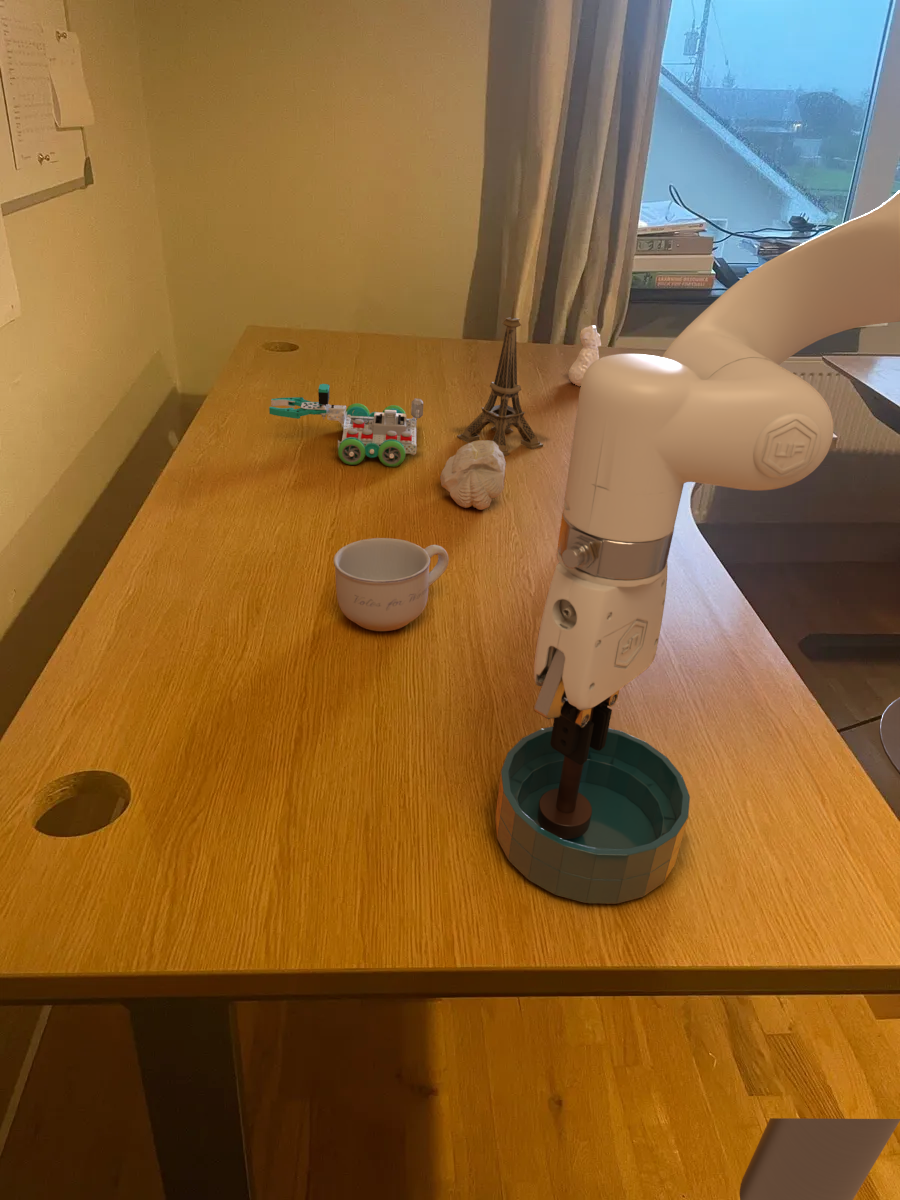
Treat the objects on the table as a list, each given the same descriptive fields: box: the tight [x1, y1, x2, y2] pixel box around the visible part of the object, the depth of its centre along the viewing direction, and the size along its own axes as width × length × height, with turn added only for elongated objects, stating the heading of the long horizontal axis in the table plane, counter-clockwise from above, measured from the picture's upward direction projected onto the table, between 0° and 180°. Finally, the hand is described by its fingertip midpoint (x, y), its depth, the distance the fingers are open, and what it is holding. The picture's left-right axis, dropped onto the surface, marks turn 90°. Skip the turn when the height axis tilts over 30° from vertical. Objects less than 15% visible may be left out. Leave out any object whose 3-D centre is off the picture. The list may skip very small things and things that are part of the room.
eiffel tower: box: [456, 293, 544, 457], centre depth 147 cm, size 11×11×25 cm
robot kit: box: [268, 383, 424, 468], centre depth 145 cm, size 19×25×9 cm
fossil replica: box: [439, 439, 507, 511], centre depth 130 cm, size 12×8×10 cm
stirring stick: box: [537, 707, 594, 839], centre depth 71 cm, size 4×4×14 cm
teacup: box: [333, 537, 449, 632], centre depth 101 cm, size 14×11×8 cm
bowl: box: [494, 725, 691, 905], centre depth 74 cm, size 15×15×6 cm
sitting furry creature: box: [567, 324, 602, 387], centre depth 181 cm, size 10×9×12 cm
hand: (577, 746), depth 70 cm, fingers closed on stirring stick
